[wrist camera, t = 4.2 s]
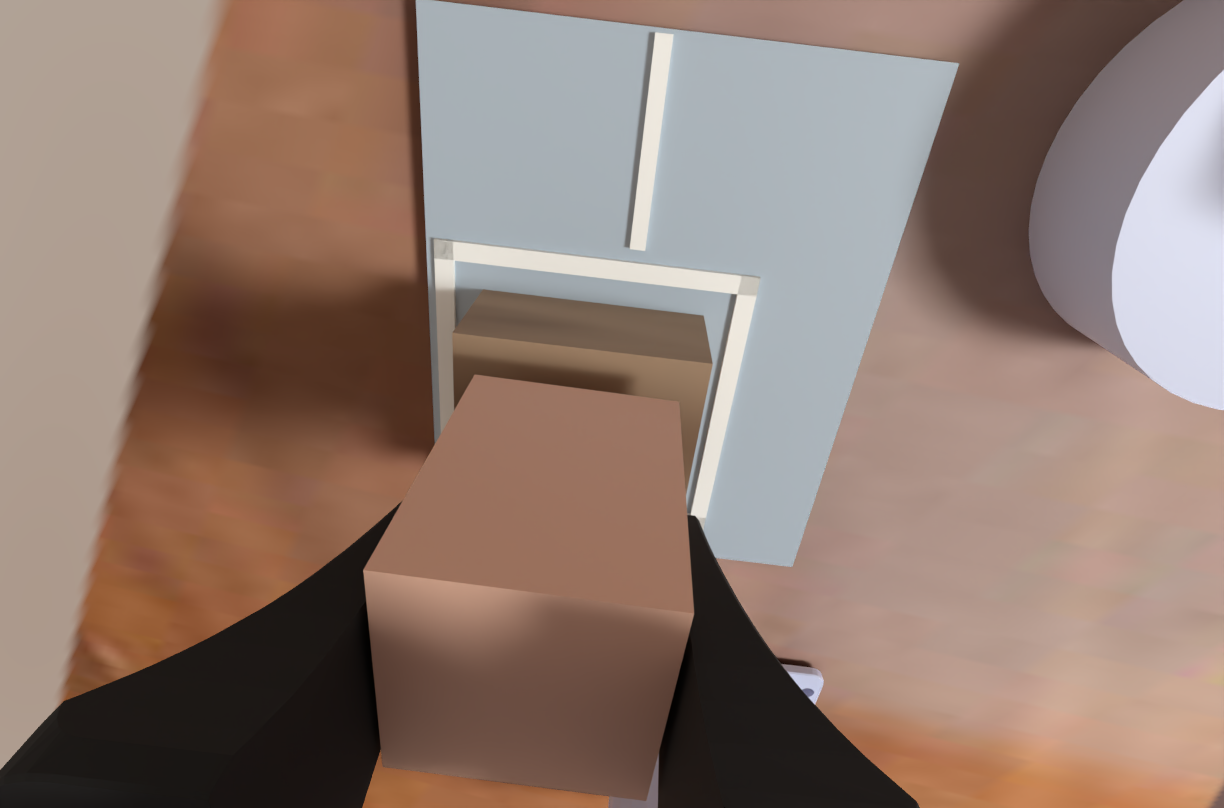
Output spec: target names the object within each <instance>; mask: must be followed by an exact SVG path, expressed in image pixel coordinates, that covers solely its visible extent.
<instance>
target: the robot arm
mask: <svg viewBox="0 0 1224 808" xmlns="http://www.w3.org/2000/svg"><path fill="white" fill-rule="evenodd" d="M401 503H402V502H401ZM401 503H399V504H398V505H397V506H396V507H395V508H394V509H393V510H392V511H391V512H389V513H388V514H387V515H386V516H385V517H384V518H383V519H382V520H380V521H379V522H378V523H377V524H376V525H375V526H374V527H372V528H371V529H370V530H369V531H368V532H366V533H365V534H364V535H363V536H362V537H360V538H359V539H358V540H357V541H356V542H355V543H353V544H352V545H351V546H350V547H348V548H347V549H346V550H345V551H343V552H342V553H341V554H339V555H338V556H337V557H336V558H334V559H333V560H332V561H330V562H329V563H328V564H326V565H325V566H324V567H322V568H321V569H320V570H319V571H317V572H316V573H315V574H313V575H312V576H310V577H309V578H308V579H306V580H305V581H303V582H302V583H300V584H299V585H298V586H296V587H295V588H293V589H292V590H290V591H289V592H287V593H286V594H284V595H283V596H281V597H279V598H278V599H276V600H275V601H273V602H272V603H270V604H268V605H267V606H265V607H264V608H262V609H260V610H258V611H257V612H255V613H253V614H251V615H249V616H248V617H246V618H244V619H242V620H241V621H239V622H237V623H235V624H233V625H232V626H230V627H228V628H226V629H224V630H223V631H221V632H219V633H217V634H216V635H214V636H212V637H210V638H208V639H206V640H204V641H202V642H200V643H198V644H196V645H194V646H192V647H190V648H188V649H186V650H184V651H182V652H180V653H177V654H175V655H173V656H171V657H169V658H167V659H165V660H162V661H160V662H158V663H156V664H154V665H152V666H149V667H147V668H145V669H142V670H140V671H138V672H136V673H133V674H131V675H128V676H126V677H123V678H121V679H118V680H116V681H114V682H111V683H109V684H106V685H104V686H101V687H99V688H96V689H94V690H91V691H89V692H86V693H84V694H82V695H79V696H76V697H74V698H71V699H68V700H66V701H64V702H63V703H62V704H61V705H60V706H59V707H58V708H57V709H56V710H55V711H54V712H53V713H52V714H51V715H50V716H49V717H48V718H47V719H46V720H45V721H44V722H43V723H42V724H41V725H40V727H38V729H37V730H36V731H35V732H34V733H33V734H32V735H31V736H30V737H29V739H28V740H27V741H26V742H25V743H24V744H23V745H22V746H21V748H20V749H19V750H18V751H17V752H16V753H15V754H14V755H13V756H12V758H11V759H10V760H9V761H8V762H7V763H6V764H5V765H4V767H3V768H2V769H1V770H0V808H362V806H363V803H364V800H365V797H366V793H367V790H368V787H369V784H370V781H371V777H372V774H373V771H374V768H375V765H376V762H377V759H378V756H379V753H380V750H381V744H380V734H379V724H378V714H377V704H376V694H375V684H374V674H373V663H372V653H371V643H370V633H369V623H368V613H367V603H366V593H365V583H364V573H363V570H364V568H365V566H366V564H367V563H368V561H369V559H370V557H371V556H372V554H373V552H374V550H375V549H376V547H377V545H378V543H379V542H380V540H381V538H382V536H383V535H384V533H385V531H386V529H387V528H388V526H389V524H390V522H391V521H392V519H393V517H394V515H395V514H396V512H397V510H398V508H399V506H400V505H401ZM687 519H688V533H689V547H690V561H691V576H692V590H693V604H694V616H693V620H692V624H691V628H690V632H689V636H688V640H687V644H686V648H685V651H684V655H683V659H682V663H681V667H680V671H679V675H678V679H677V683H676V687H675V691H674V695H673V698H672V702H671V706H670V710H669V714H668V718H667V722H666V726H665V730H664V734H663V738H662V741H661V745H660V749H659V753H658V757H657V761H656V765H655V769H654V773H653V777H652V781H651V784H650V788H649V792H648V796H647V800H646V801H642V800H634V799H627V798H619V797H611V796H609V808H920V807H919V805H918V803H917V802H916V801H915V800H914V799H913V798H912V797H911V796H910V795H908V794H907V793H906V792H905V791H904V790H903V789H902V788H900V787H899V786H898V785H897V784H896V783H895V782H894V781H892V780H891V779H890V778H889V777H888V776H887V775H886V774H884V773H883V772H882V771H881V770H880V769H879V768H878V767H876V766H875V765H874V764H873V763H872V762H871V761H870V760H868V759H867V758H866V757H865V756H864V755H863V754H862V753H861V752H860V751H859V750H858V749H857V748H856V747H855V746H854V745H853V744H852V743H851V742H850V741H849V740H848V739H847V738H846V737H845V736H844V735H843V734H842V733H841V732H840V731H839V730H838V729H837V728H836V727H835V726H834V725H833V724H832V723H831V722H830V721H829V720H828V718H827V717H826V716H825V715H824V714H823V713H822V712H821V711H820V710H819V709H818V707H817V706H816V705H815V703H816V701H817V698H818V696H819V694H820V691H821V689H822V686H823V682H824V681H823V678H822V674H821V672H820V671H819V670H817V669H815V668H811V667H803V666H795V665H786V664H781V663H780V662H779V661H778V659H777V658H776V657H775V655H774V654H773V653H772V651H771V650H770V648H769V647H768V646H767V644H766V643H765V641H764V640H763V638H762V637H761V635H760V634H759V632H758V631H757V630H756V628H755V626H754V625H753V623H752V622H751V620H750V619H749V617H748V615H747V614H746V612H745V611H744V609H743V607H742V606H741V604H740V602H739V601H738V599H737V597H736V595H735V594H734V592H733V590H732V588H731V586H730V585H729V583H728V581H727V579H726V577H725V576H724V574H723V572H722V570H721V568H720V566H719V564H718V562H717V560H716V558H715V556H714V554H713V552H712V550H711V548H710V545H709V543H708V541H707V539H706V536H705V534H704V532H703V529H702V527H701V524H700V521H699V520H698V519H697V517H696V516H693V515H687Z"/></svg>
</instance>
